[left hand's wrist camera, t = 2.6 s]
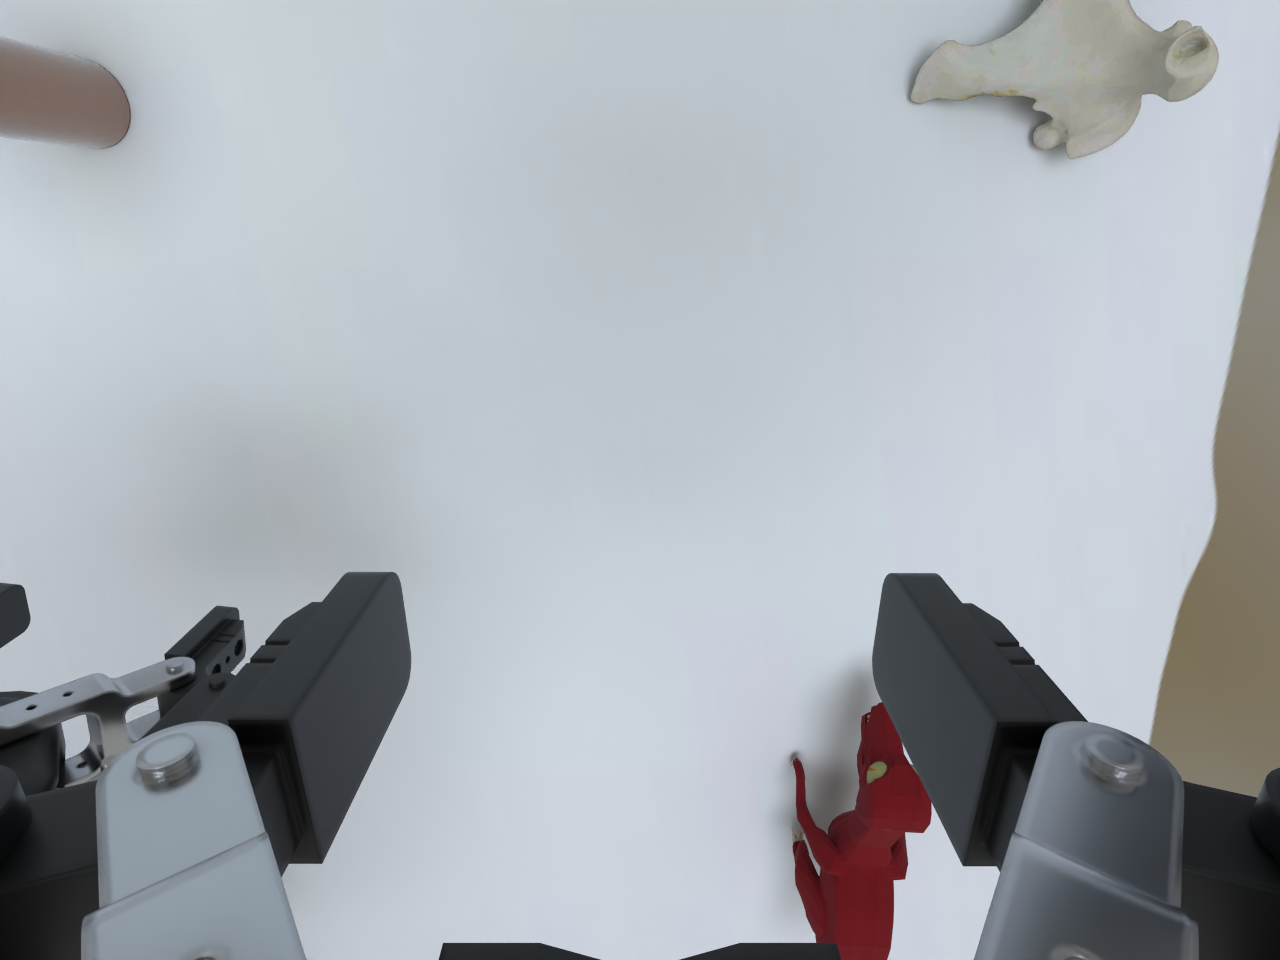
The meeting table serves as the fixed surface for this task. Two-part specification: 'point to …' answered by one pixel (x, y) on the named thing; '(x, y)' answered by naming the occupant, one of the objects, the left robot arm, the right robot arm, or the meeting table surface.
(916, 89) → the bone
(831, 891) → the toy
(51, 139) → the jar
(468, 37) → the meeting table surface
